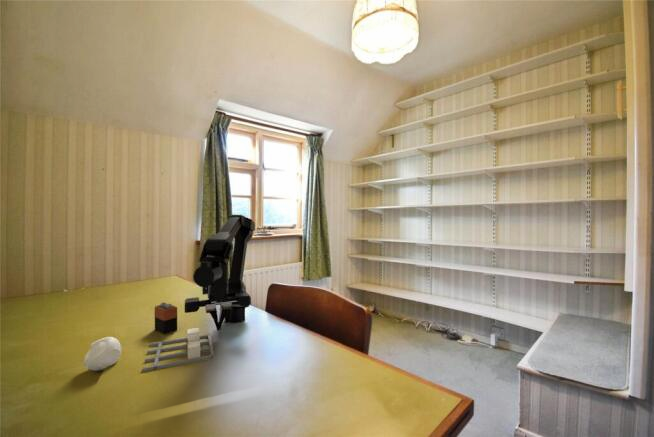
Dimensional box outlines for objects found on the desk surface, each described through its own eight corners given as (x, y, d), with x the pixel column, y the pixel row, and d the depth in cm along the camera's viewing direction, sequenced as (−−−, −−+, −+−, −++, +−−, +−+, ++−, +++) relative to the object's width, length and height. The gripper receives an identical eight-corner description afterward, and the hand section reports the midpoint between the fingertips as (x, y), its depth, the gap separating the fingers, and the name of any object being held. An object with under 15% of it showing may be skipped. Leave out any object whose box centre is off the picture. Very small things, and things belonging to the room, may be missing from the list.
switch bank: (210, 339, 93) (210, 333, 93) (214, 363, 79) (214, 355, 79) (143, 350, 85) (143, 343, 85) (134, 378, 71) (134, 370, 71)
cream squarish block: (198, 339, 90) (198, 327, 90) (199, 343, 87) (199, 332, 87) (187, 340, 89) (187, 329, 89) (187, 345, 86) (187, 333, 86)
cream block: (199, 353, 81) (199, 340, 81) (200, 358, 78) (200, 345, 78) (187, 355, 80) (187, 342, 80) (187, 361, 77) (187, 347, 77)
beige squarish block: (199, 345, 86) (199, 333, 86) (199, 351, 83) (199, 338, 83) (187, 347, 85) (187, 335, 85) (187, 353, 81) (187, 340, 81)
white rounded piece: (84, 366, 77) (84, 336, 77) (120, 358, 81) (120, 330, 81) (83, 380, 70) (83, 348, 70) (122, 370, 75) (122, 339, 75)
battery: (164, 338, 94) (164, 307, 94) (154, 333, 98) (153, 303, 98) (178, 334, 97) (177, 303, 97) (167, 329, 101) (167, 300, 101)
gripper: (244, 271, 102) (245, 317, 102) (184, 276, 94) (185, 325, 95) (251, 278, 92) (251, 328, 92) (184, 284, 84) (184, 338, 85)
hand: (218, 329), depth 91 cm, fingers closed
